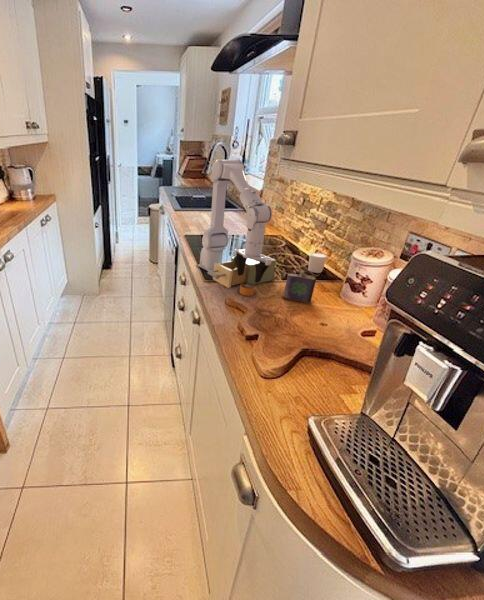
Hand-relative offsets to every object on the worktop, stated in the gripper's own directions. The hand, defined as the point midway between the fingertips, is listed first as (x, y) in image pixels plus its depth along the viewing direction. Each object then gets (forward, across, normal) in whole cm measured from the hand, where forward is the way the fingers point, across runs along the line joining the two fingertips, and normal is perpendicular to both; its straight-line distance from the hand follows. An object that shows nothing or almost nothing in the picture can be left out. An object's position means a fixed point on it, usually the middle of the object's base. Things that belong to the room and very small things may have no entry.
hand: (248, 278), depth 117 cm
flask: (+6, +14, +10) cm, 18 cm away
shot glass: (+6, +3, +43) cm, 44 cm away
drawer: (+5, -10, 0) cm, 11 cm away
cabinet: (+6, -8, +12) cm, 16 cm away
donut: (+6, 0, 0) cm, 6 cm away
